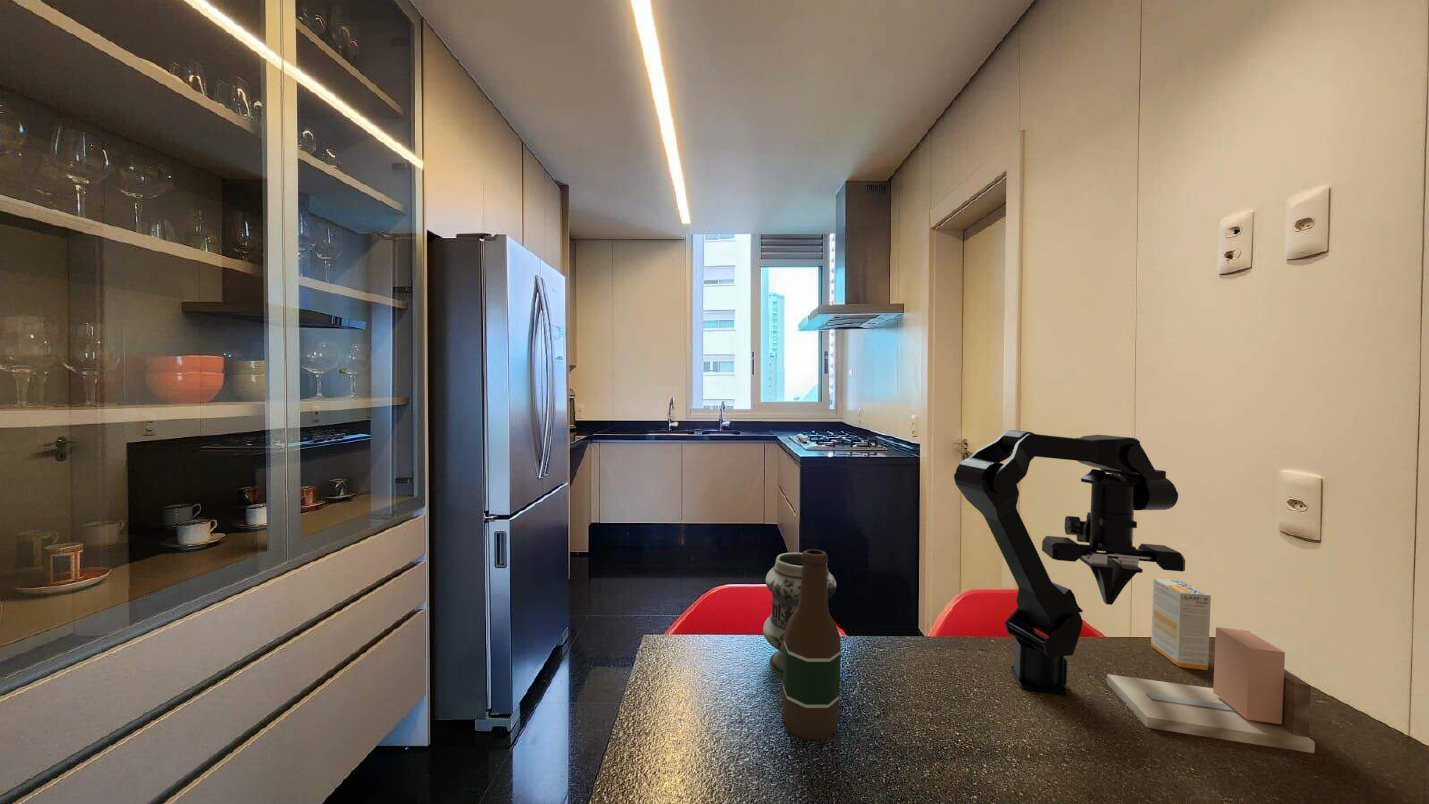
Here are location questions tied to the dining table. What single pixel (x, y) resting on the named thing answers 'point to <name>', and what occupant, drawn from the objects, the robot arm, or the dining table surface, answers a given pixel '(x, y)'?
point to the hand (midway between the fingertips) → (1107, 603)
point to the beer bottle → (812, 657)
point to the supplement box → (1181, 623)
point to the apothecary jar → (785, 601)
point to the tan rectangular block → (1249, 675)
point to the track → (1217, 712)
